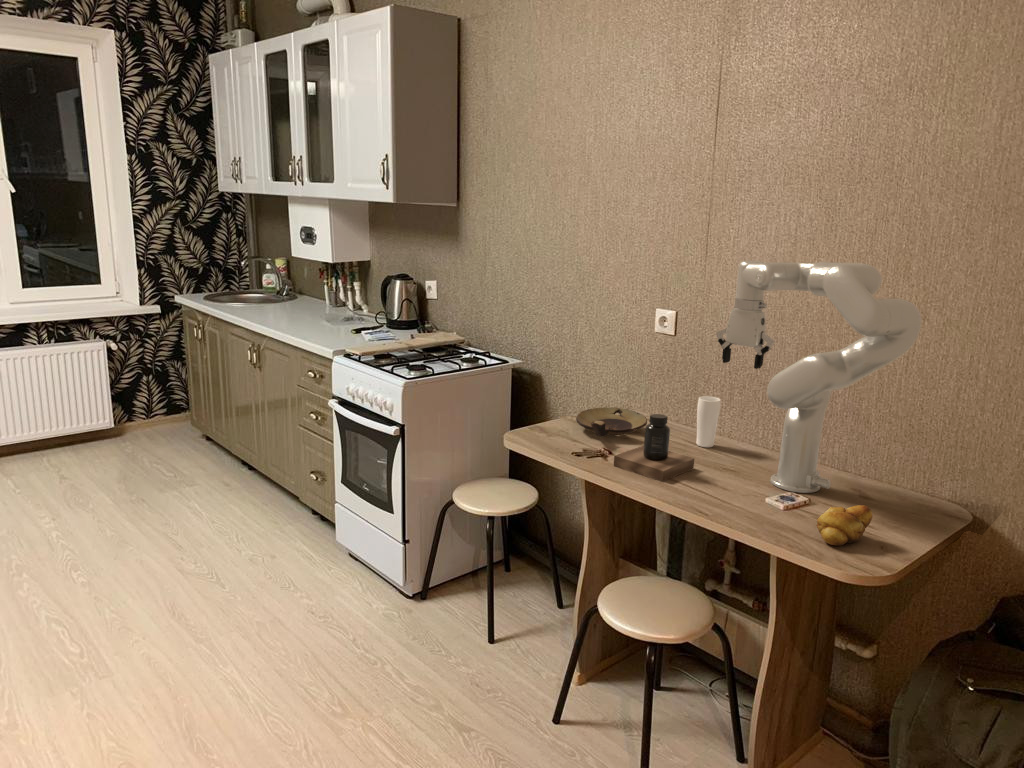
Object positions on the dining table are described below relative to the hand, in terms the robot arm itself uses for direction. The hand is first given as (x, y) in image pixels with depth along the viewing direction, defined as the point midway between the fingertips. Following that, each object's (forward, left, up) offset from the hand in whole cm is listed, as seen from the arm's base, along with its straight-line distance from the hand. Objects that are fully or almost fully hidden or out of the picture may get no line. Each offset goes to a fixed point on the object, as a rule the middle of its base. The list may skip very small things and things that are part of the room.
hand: (741, 365), depth 214 cm
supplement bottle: (+11, +24, -26) cm, 37 cm away
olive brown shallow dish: (+40, +8, -29) cm, 50 cm away
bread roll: (-43, +32, -29) cm, 61 cm away
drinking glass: (+12, -6, -28) cm, 32 cm away
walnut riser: (+11, +24, -28) cm, 39 cm away
